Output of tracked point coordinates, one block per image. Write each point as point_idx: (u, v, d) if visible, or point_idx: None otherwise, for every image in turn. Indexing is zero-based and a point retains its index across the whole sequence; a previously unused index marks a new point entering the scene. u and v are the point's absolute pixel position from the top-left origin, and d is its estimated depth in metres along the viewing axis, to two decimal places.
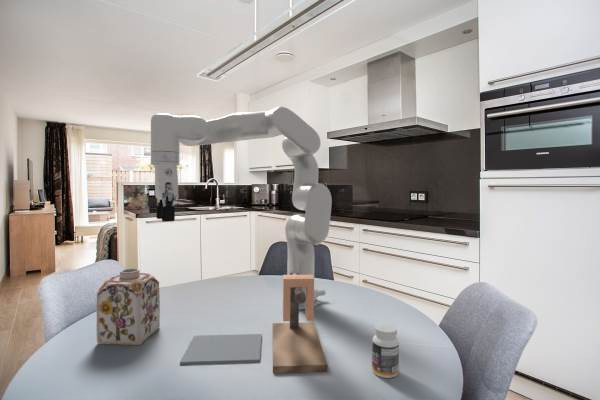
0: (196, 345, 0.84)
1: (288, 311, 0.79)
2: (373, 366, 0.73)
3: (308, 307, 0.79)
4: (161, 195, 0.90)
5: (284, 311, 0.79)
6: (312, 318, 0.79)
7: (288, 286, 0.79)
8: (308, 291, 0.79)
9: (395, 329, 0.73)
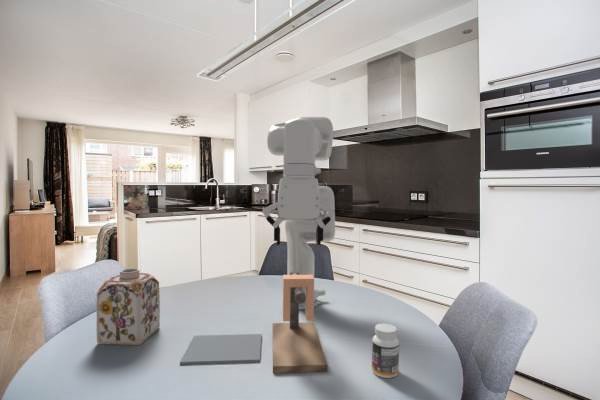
0: (196, 345, 0.84)
1: (288, 311, 0.79)
2: (373, 366, 0.73)
3: (308, 307, 0.79)
4: (319, 215, 0.79)
5: (284, 311, 0.79)
6: (312, 318, 0.79)
7: (288, 286, 0.79)
8: (308, 291, 0.79)
9: (395, 329, 0.73)
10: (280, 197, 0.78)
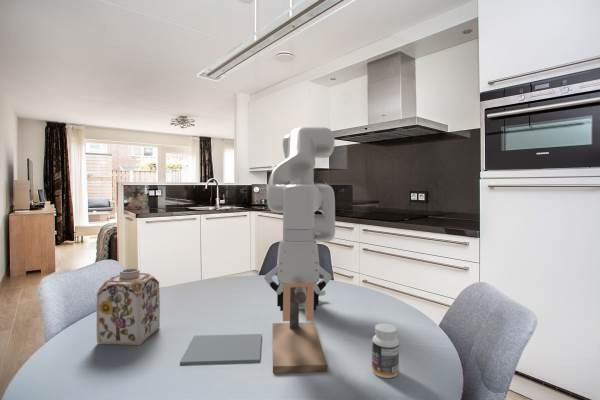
0: (196, 345, 0.84)
1: (288, 311, 0.79)
2: (373, 366, 0.73)
3: (308, 307, 0.79)
4: (318, 279, 0.80)
5: (284, 311, 0.79)
6: (312, 318, 0.79)
7: (288, 286, 0.79)
8: (308, 291, 0.79)
9: (395, 329, 0.73)
10: (280, 262, 0.78)
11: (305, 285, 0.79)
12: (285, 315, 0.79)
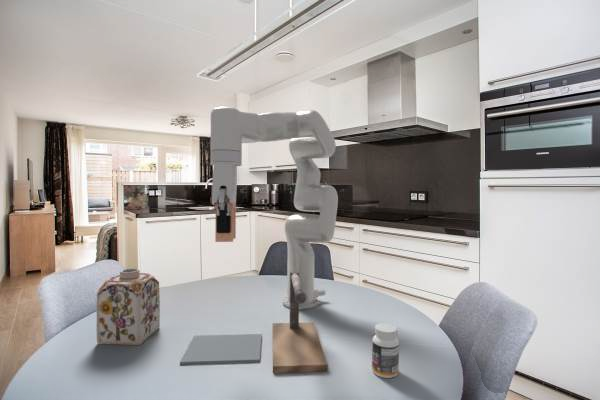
0: (196, 345, 0.84)
1: None
2: (373, 366, 0.73)
3: (235, 226, 0.86)
4: None
5: (232, 231, 0.80)
6: (235, 236, 0.87)
7: (233, 207, 0.81)
8: (235, 211, 0.85)
9: (395, 329, 0.73)
10: (232, 183, 0.79)
11: None
12: (232, 235, 0.80)
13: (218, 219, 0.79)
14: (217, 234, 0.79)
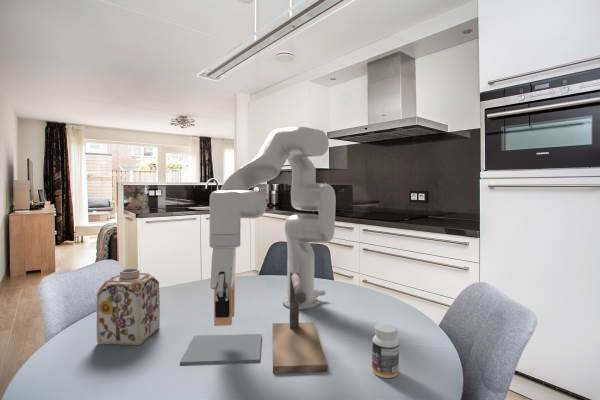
0: (196, 345, 0.84)
1: (231, 314, 0.81)
2: (373, 366, 0.73)
3: (233, 304, 0.86)
4: None
5: (231, 315, 0.80)
6: None
7: (231, 289, 0.81)
8: (234, 289, 0.86)
9: (395, 329, 0.73)
10: (231, 268, 0.79)
11: (233, 284, 0.85)
12: (231, 318, 0.81)
13: (217, 304, 0.79)
14: (216, 318, 0.80)
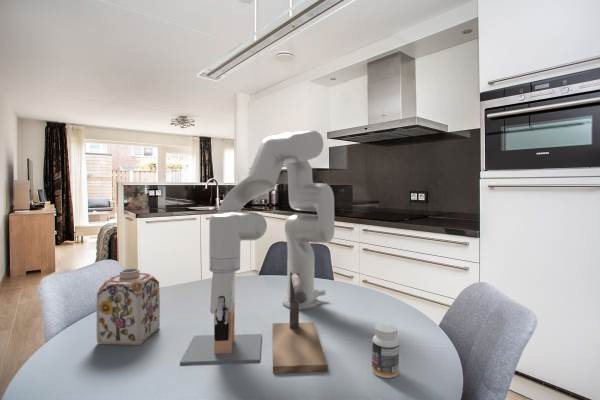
0: (196, 345, 0.84)
1: (231, 341, 0.82)
2: (373, 366, 0.73)
3: (233, 329, 0.86)
4: None
5: (231, 343, 0.81)
6: None
7: (231, 317, 0.81)
8: (233, 315, 0.86)
9: (395, 329, 0.73)
10: (230, 292, 0.79)
11: (233, 310, 0.85)
12: (231, 346, 0.81)
13: (216, 327, 0.78)
14: (216, 346, 0.80)
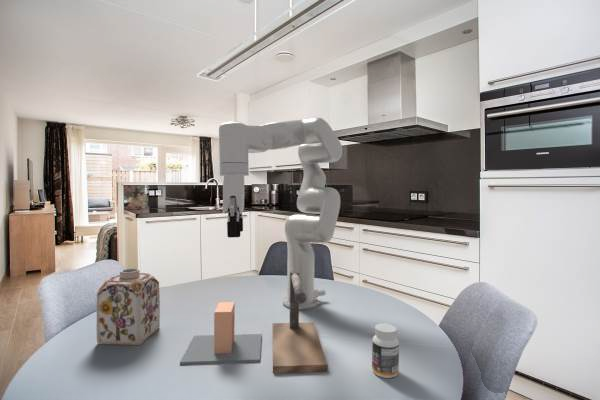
0: (196, 345, 0.84)
1: (231, 341, 0.82)
2: (373, 366, 0.73)
3: (233, 329, 0.86)
4: None
5: (231, 343, 0.81)
6: None
7: (231, 317, 0.81)
8: (233, 315, 0.86)
9: (395, 329, 0.73)
10: (241, 193, 0.85)
11: (233, 310, 0.85)
12: (231, 346, 0.81)
13: (228, 224, 0.85)
14: (216, 346, 0.80)
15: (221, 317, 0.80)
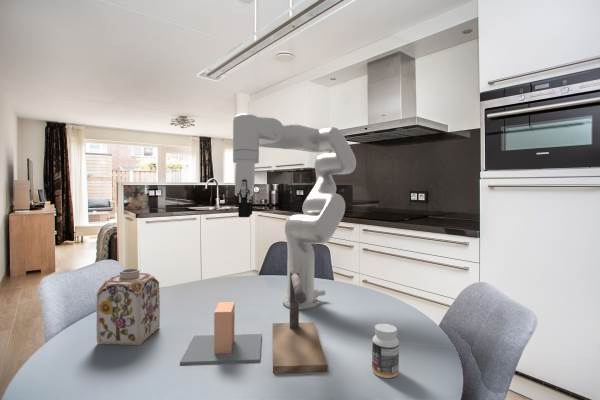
0: (196, 345, 0.84)
1: (231, 341, 0.82)
2: (373, 366, 0.73)
3: (233, 329, 0.86)
4: None
5: (231, 343, 0.81)
6: None
7: (231, 317, 0.81)
8: (233, 315, 0.86)
9: (395, 329, 0.73)
10: (251, 177, 0.94)
11: (233, 310, 0.85)
12: (231, 346, 0.81)
13: (240, 205, 0.93)
14: (216, 346, 0.80)
15: (221, 317, 0.80)
